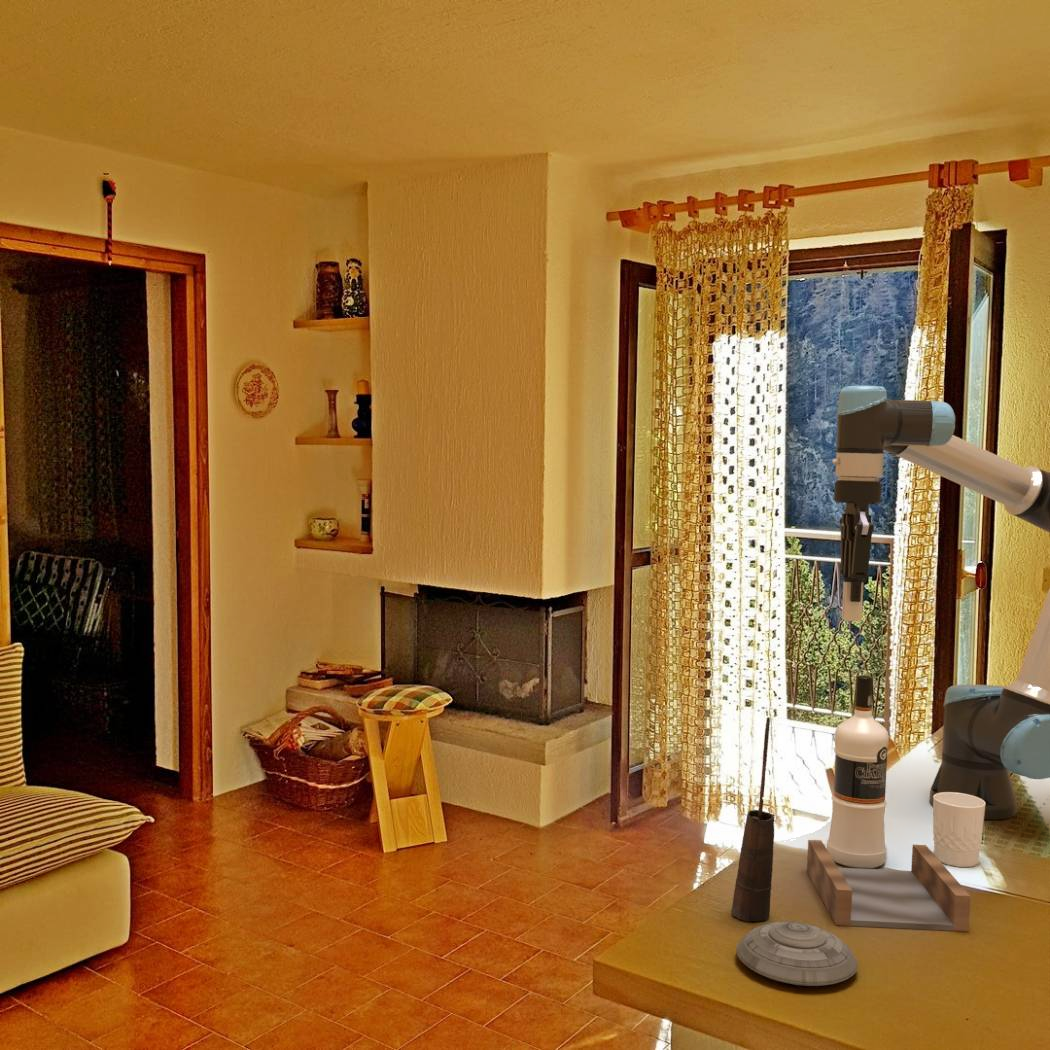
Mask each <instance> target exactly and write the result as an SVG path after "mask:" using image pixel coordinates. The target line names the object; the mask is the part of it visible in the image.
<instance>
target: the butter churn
mask: <svg viewBox="0 0 1050 1050" xmlns="http://www.w3.org/2000/svg"><path fill="white" fill-rule="evenodd" d="M770 718H771V717H770V716H767V717H766V723H765V729H764V737H763V738H764V740H763V751H762V765H761V766H762V768H761V779H760V788H759V803H758V809H753V810H749V811H748V812H747V815H746V820H745V825H744V829H743V837H742V840H741V841H742V842H741V848H740V853H739V860H738V867H737V869H738V870H737V875H736V879H735V884H734V892H733V897H732V898H733V899H732V906H731V914H732V916H733V917H735V918H737V919H739V920H740V921H744V922H747V923H750V922H753V921H754V922H765V921H768V920H769V919H770V912H771V898H772V897H771V892H772V880H773V879H772V877H773V864H774V845H775V844H774V843H775V842H774V841H775V814H773V813H770V812H767V811H763V808H764V799H763V798H764V796H765V785H766V770H767V762H768V747H769V739H770V738H769V737H770V735H769V734H770V725H771V724H770V723H771V719H770Z"/></svg>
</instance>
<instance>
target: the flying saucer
mask: <svg viewBox="0 0 1050 1050" xmlns="http://www.w3.org/2000/svg"><path fill="white" fill-rule="evenodd" d="M735 951H736V955H737V957H738V958H739V960H740V961H741V962H742V963H743V964H744V966H746V967H747V968H749V969H750V970H752V971H753V972H755V973H757V974H759V975H760V976H763V977H766V978H768V979H770V980H774V981H777V982H781V983H786V984H791V985H796V986H807V987H818V986H819V987H821V986H830V985H835V984H838V983H841V982H844V981H847V980H848V979H850V978H851V977H853V976H854V975H855V974H856V973H857V971H858V969H859V962H858V960H857V958H856V956H855V955H854V952H853V951H852V950H851V949H850V947H849V946H848V945H847V944H846V943H845V942H844V941H843V940H842V939H841V938H840V937H838V936H836V935H835V934H833V933H832V932H830V931H828V930H826V929H824V928H822V927H820V926H817V925H813V924H810V923H807V922H801V921H794V920H793V921H791V920H790V921H789V920H787V921H784V920H782V921H773V922H769V923H765V924H762V925H759V926H756V927H754V928H753V929H751V930H750V931H748V932H747V933H746V934H745V935H743V937H742V938H741V939H740V940H739V941H738V943H737V945H736V947H735Z"/></svg>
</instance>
